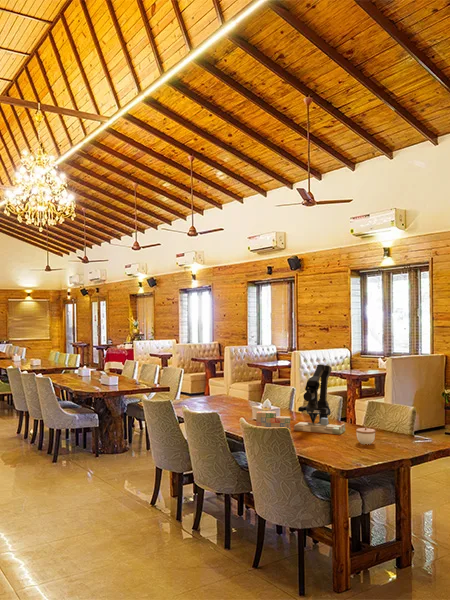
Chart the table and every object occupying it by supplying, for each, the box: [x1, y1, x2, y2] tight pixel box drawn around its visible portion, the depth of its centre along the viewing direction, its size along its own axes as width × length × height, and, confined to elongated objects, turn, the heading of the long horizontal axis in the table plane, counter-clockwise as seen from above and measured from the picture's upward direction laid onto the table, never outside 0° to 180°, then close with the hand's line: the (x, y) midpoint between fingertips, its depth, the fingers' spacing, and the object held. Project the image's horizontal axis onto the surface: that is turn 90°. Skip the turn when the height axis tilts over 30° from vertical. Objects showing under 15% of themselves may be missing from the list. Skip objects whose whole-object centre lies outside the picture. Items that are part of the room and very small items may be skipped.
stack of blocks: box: [255, 410, 291, 430], centre depth 355 cm, size 21×6×12 cm, turn 81°
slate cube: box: [321, 417, 329, 425], centre depth 361 cm, size 4×4×4 cm
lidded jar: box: [355, 426, 376, 446], centre depth 321 cm, size 11×11×9 cm
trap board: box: [293, 421, 346, 435], centre depth 358 cm, size 13×30×4 cm, turn 65°
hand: (313, 423), depth 363 cm, fingers closed
